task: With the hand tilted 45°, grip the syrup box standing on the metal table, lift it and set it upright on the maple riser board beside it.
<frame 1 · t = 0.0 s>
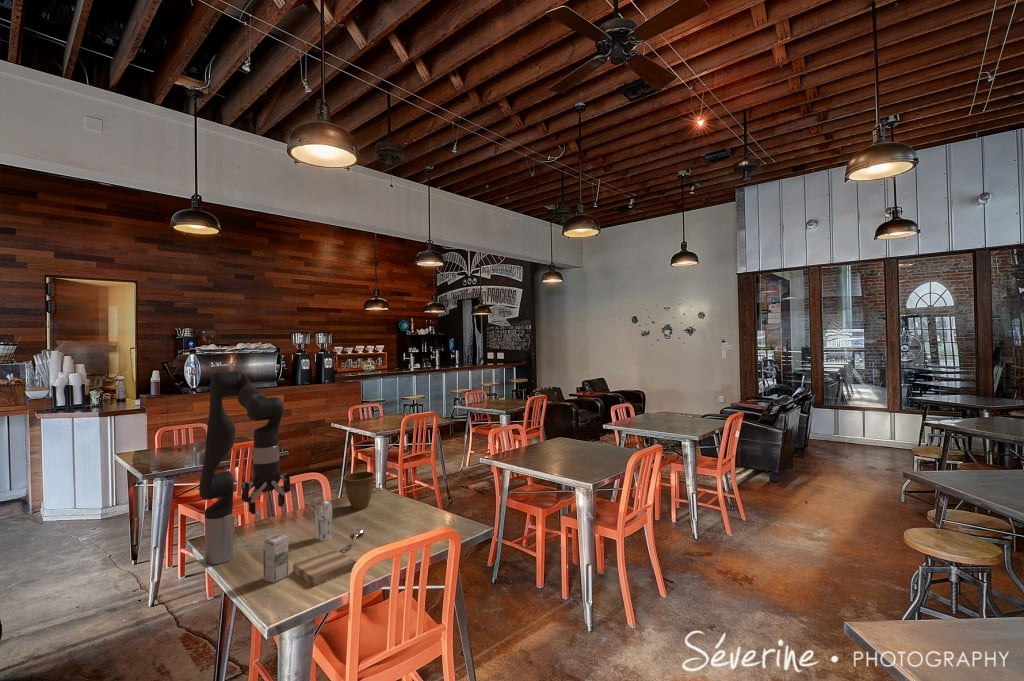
hand: (267, 509, 156), 29 cm above the table, tool pointing down, fingers open, 8 cm apart
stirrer: (353, 543, 200), on the table
maple riser board: (325, 570, 176), on the table
plant pot: (359, 507, 242), on the table
syrup box: (276, 578, 170), on the table
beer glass: (324, 538, 205), on the table
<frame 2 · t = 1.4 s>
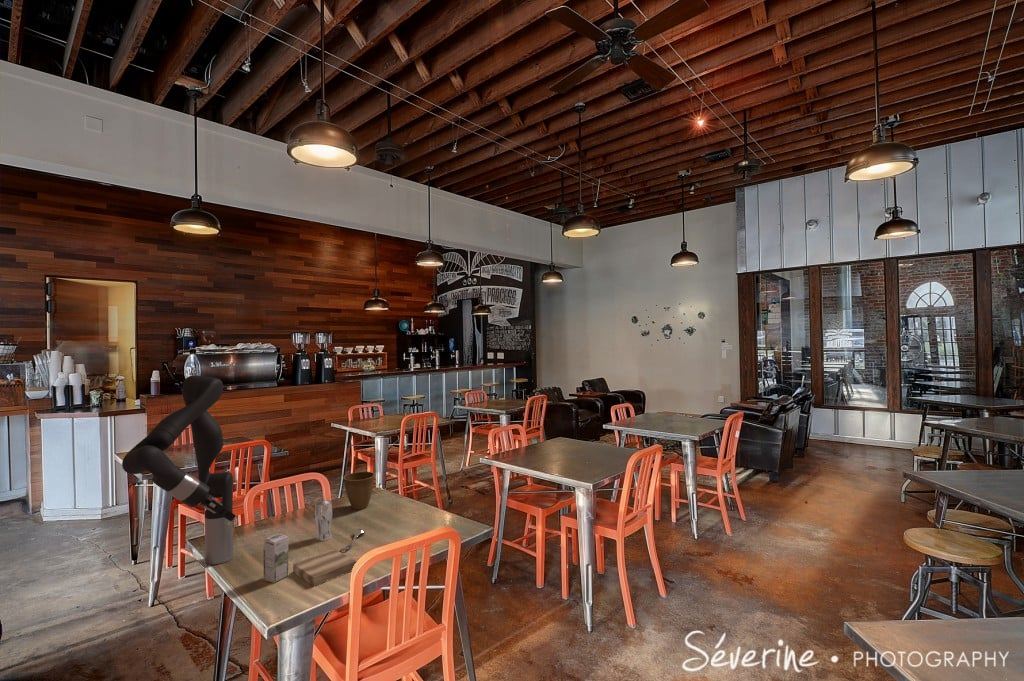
hand: (228, 515, 161), 26 cm above the table, tool tilted 45°, fingers open, 8 cm apart
nothing on the table moved.
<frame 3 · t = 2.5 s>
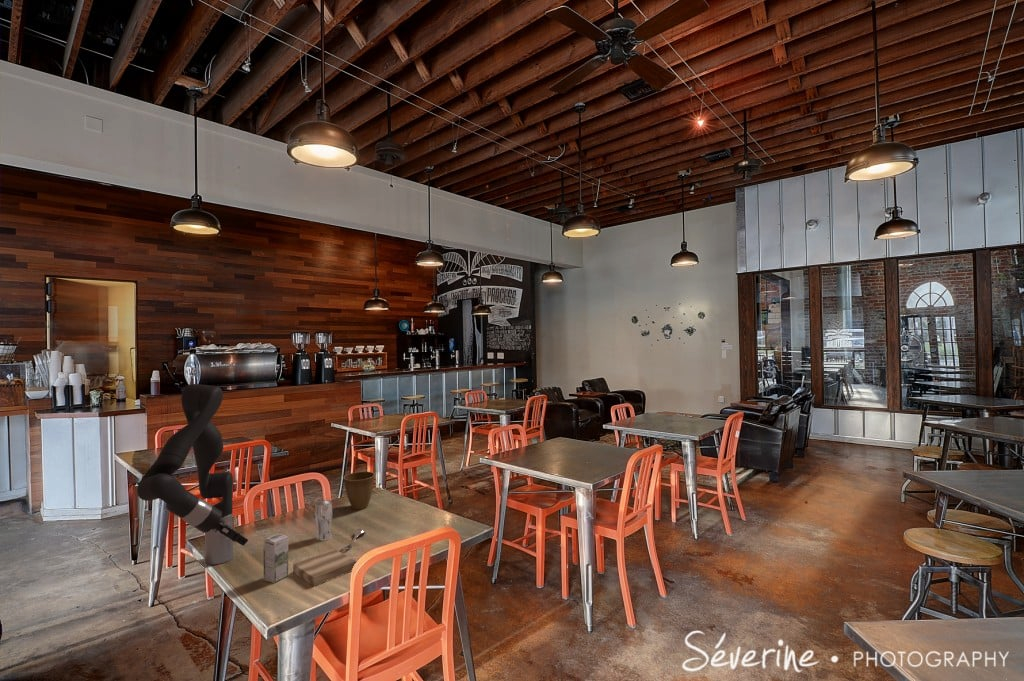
hand: (240, 539, 162), 17 cm above the table, tool tilted 45°, fingers open, 8 cm apart
nothing on the table moved.
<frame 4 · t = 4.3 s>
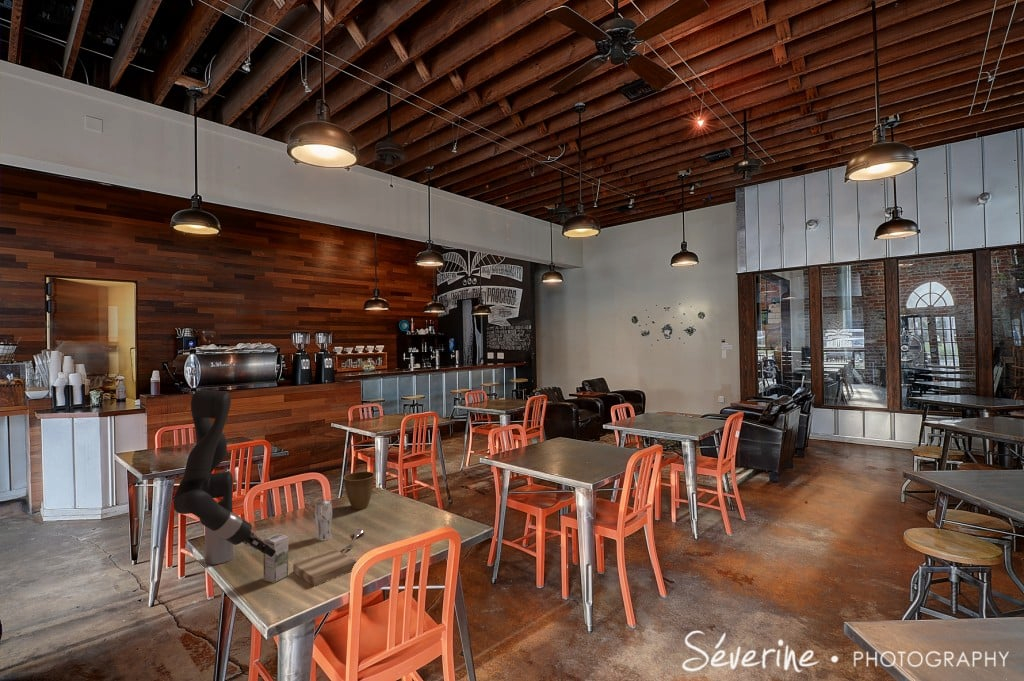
hand: (268, 550, 168), 11 cm above the table, tool tilted 45°, fingers open, 8 cm apart
nothing on the table moved.
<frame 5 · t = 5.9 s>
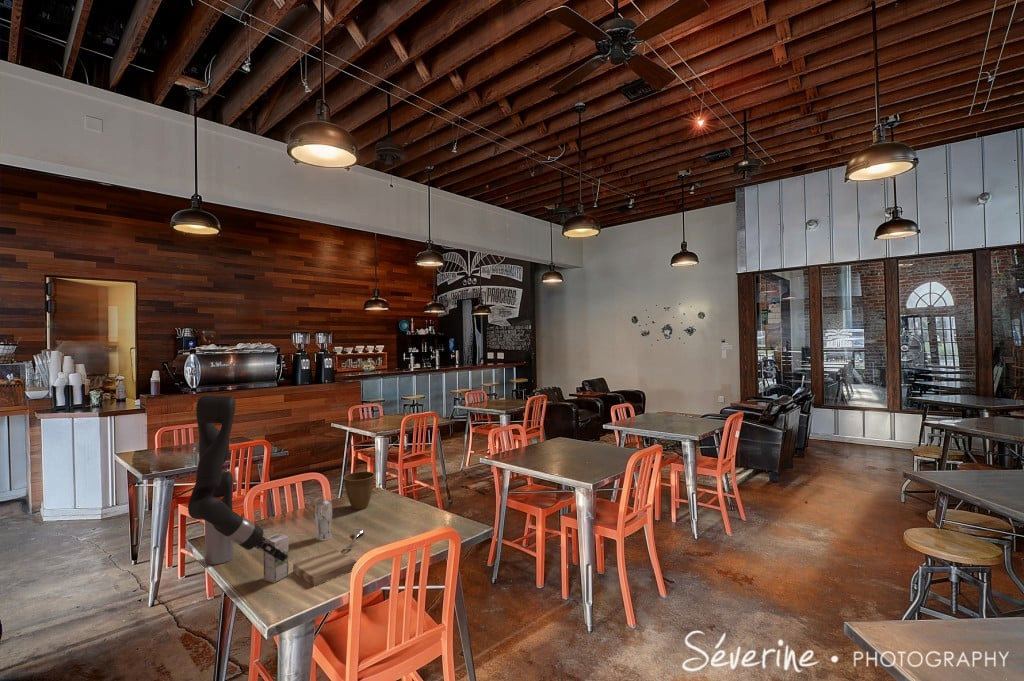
hand: (280, 555, 172), 7 cm above the table, tool tilted 45°, fingers closed on syrup box, 6 cm apart
syrup box: (276, 578, 170), on the table, touching gripper
everything else where it was.
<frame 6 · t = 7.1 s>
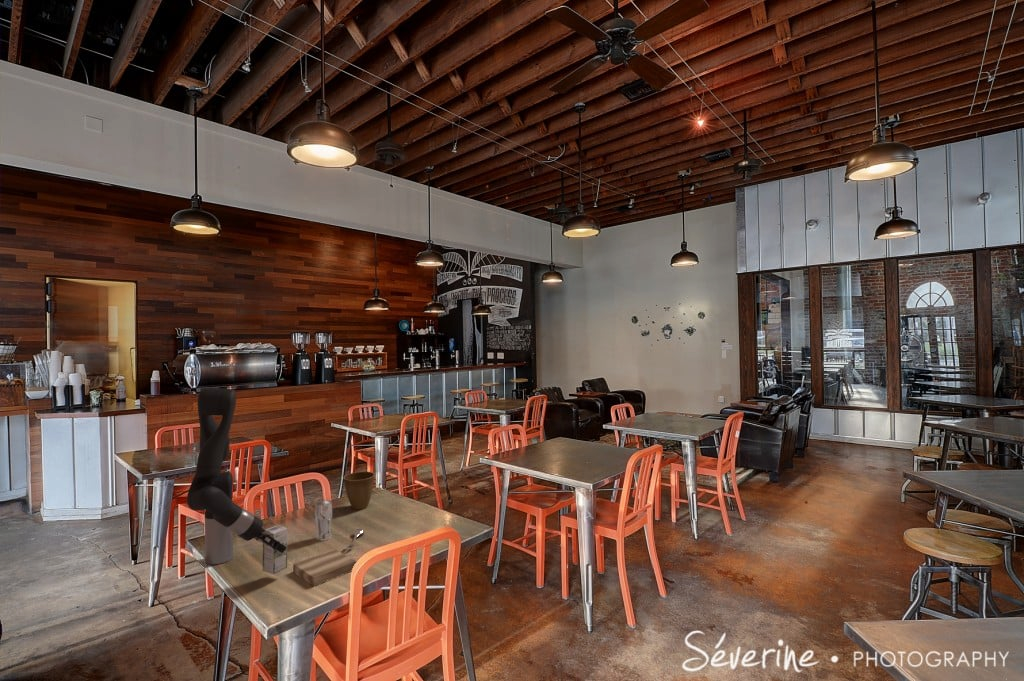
hand: (279, 547, 171), 10 cm above the table, tool tilted 45°, fingers closed on syrup box, 6 cm apart
syrup box: (275, 570, 170), point 3 cm above the table, touching gripper
everything else where it was.
when the fingers open (12 cm above the table, at t = 13.0 s): syrup box drops 1 cm, resting on maple riser board.
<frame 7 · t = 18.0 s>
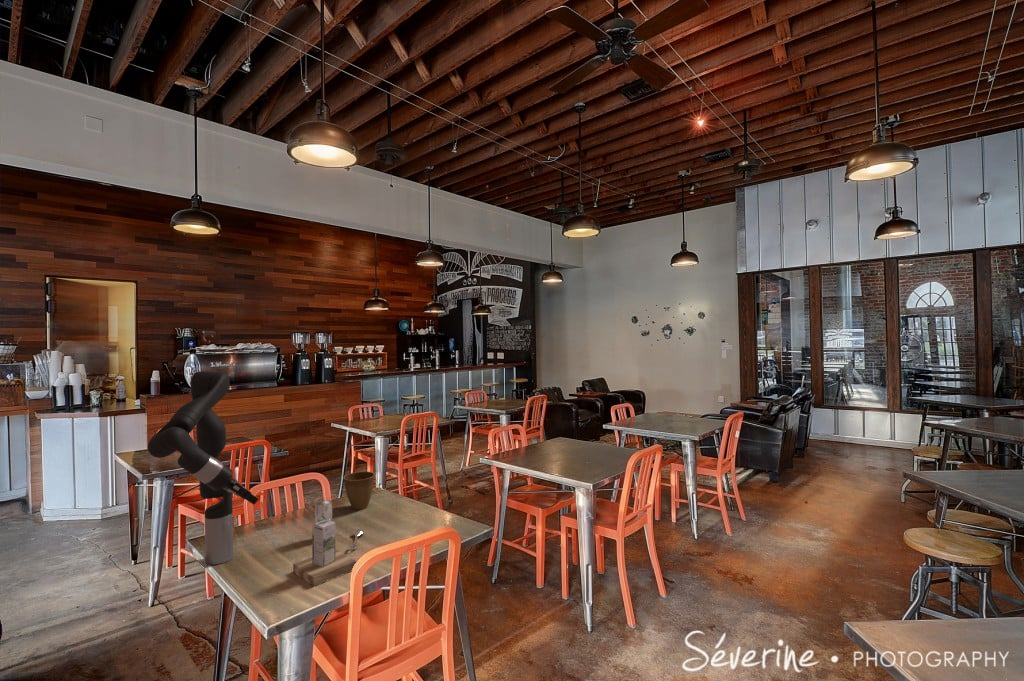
hand: (251, 499, 162), 31 cm above the table, tool tilted 45°, fingers open, 8 cm apart
syrup box: (324, 563, 175), point 3 cm above the table, touching maple riser board
at the end: syrup box inside the target area on the maple riser board (0.3 cm from its centre), point 2.8 cm above the maple riser board's base; syrup box tilted 0°; the gripper is holding nothing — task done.
